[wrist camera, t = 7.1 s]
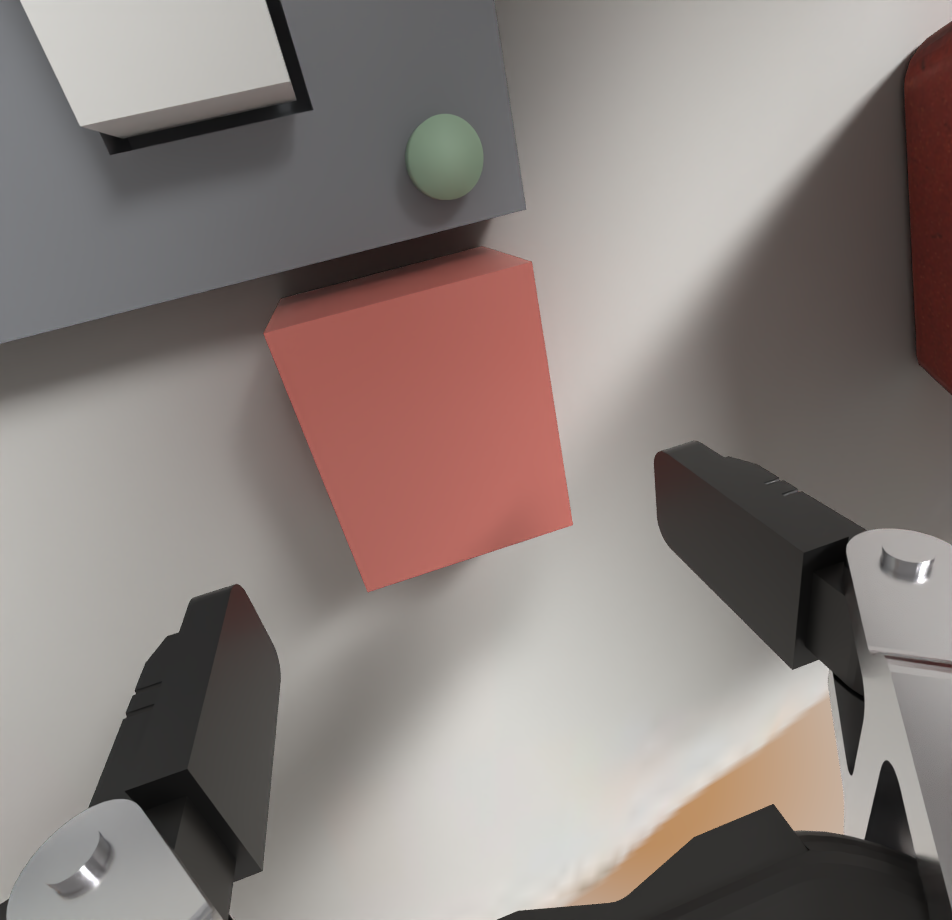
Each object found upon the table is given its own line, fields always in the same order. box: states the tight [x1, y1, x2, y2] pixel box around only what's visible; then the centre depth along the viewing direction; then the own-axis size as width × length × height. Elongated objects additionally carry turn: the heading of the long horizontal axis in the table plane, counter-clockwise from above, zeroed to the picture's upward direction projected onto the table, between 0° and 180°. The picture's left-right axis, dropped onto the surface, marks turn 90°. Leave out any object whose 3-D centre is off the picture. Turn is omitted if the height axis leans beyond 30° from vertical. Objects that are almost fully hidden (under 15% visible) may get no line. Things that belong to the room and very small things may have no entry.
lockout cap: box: [263, 246, 573, 592], centre depth 17 cm, size 7×8×5 cm
